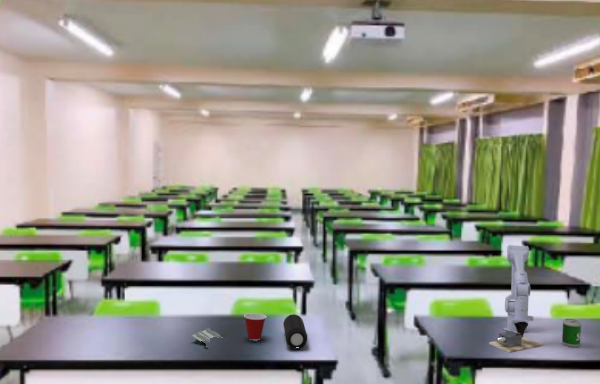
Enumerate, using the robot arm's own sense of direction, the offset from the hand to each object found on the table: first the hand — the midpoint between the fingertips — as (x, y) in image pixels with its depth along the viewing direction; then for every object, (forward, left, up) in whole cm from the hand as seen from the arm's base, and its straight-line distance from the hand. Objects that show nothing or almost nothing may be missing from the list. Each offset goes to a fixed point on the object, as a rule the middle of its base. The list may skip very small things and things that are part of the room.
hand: (520, 337), depth 245 cm
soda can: (-21, +11, -4) cm, 24 cm away
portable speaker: (+97, -46, -4) cm, 107 cm away
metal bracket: (+134, -61, -4) cm, 148 cm away
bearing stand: (+3, 0, -3) cm, 4 cm away
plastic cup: (+114, -55, -4) cm, 126 cm away
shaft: (+8, 0, -1) cm, 8 cm away
